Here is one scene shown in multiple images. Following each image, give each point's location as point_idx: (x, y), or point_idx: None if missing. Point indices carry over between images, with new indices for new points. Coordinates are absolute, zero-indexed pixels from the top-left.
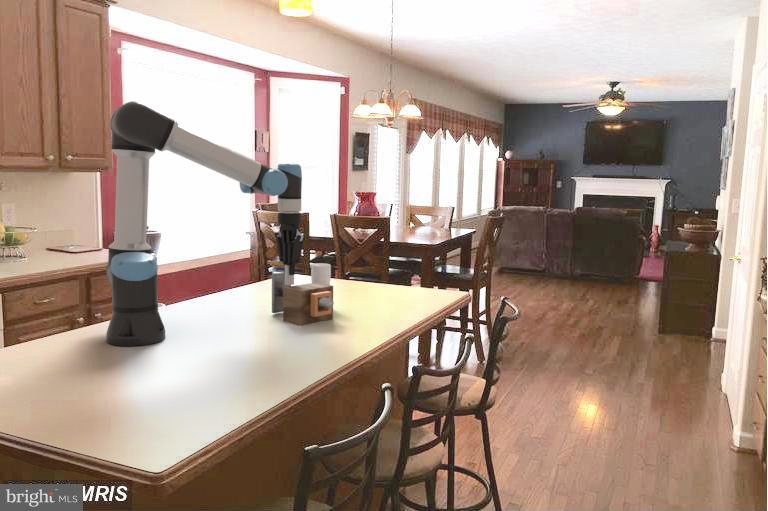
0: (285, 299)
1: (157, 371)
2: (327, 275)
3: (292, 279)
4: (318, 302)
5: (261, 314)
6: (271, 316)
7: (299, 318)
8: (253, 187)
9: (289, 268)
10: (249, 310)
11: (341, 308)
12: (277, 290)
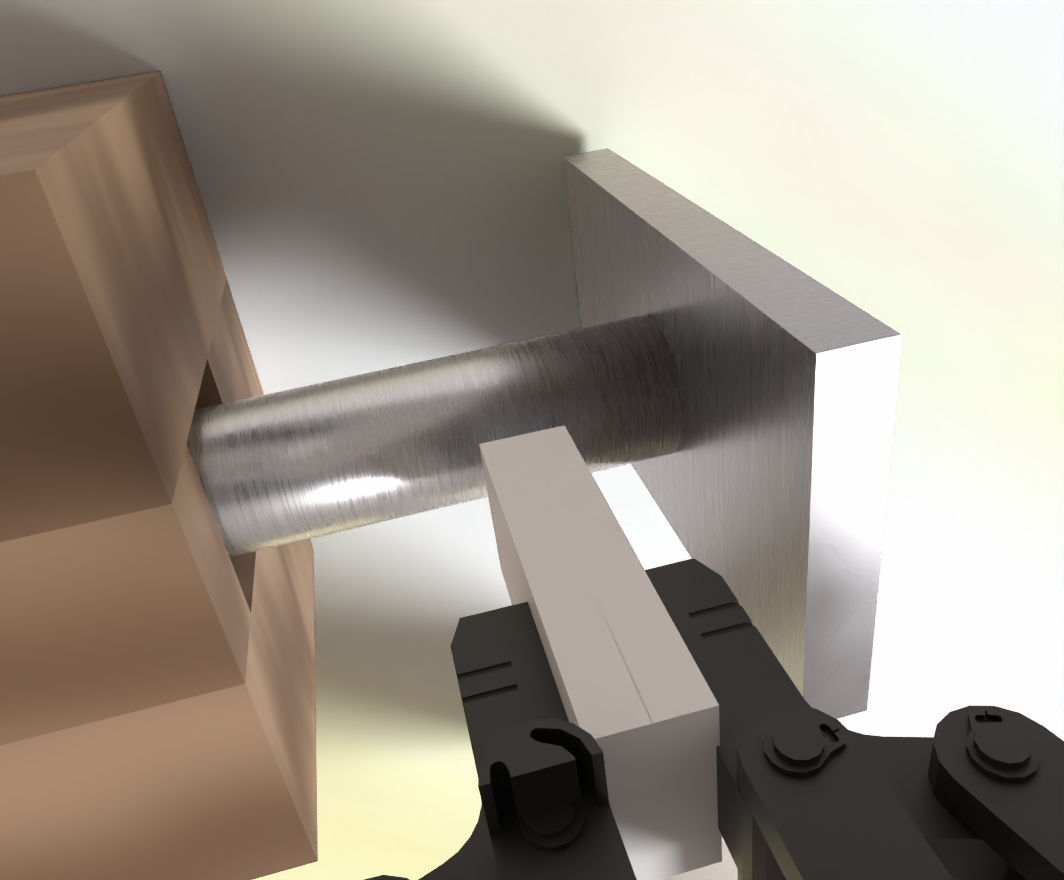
0: (21, 131)
1: None
2: None
3: (515, 600)
4: None
5: (671, 22)
6: (502, 80)
7: None
8: None
9: (554, 715)
10: (939, 4)
11: (440, 808)
12: (669, 307)
